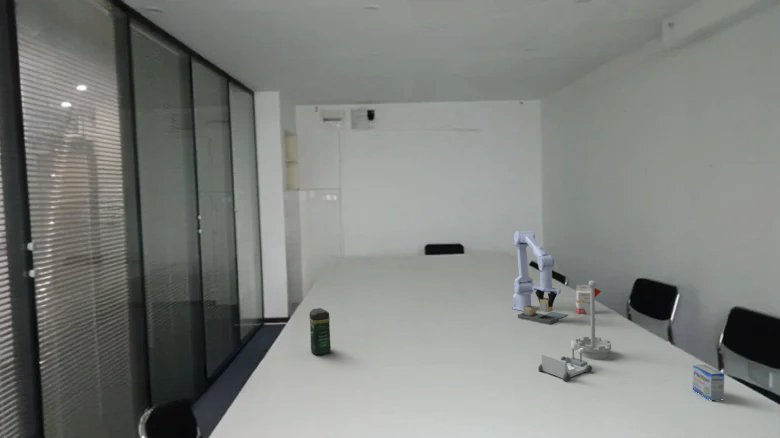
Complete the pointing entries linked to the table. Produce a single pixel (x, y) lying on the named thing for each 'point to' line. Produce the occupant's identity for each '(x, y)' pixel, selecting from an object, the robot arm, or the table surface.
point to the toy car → (565, 364)
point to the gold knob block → (545, 305)
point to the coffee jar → (320, 331)
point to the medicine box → (708, 382)
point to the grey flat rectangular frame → (540, 318)
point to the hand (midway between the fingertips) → (546, 305)
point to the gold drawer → (530, 310)
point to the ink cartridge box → (583, 299)
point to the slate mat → (556, 314)
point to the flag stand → (595, 345)
